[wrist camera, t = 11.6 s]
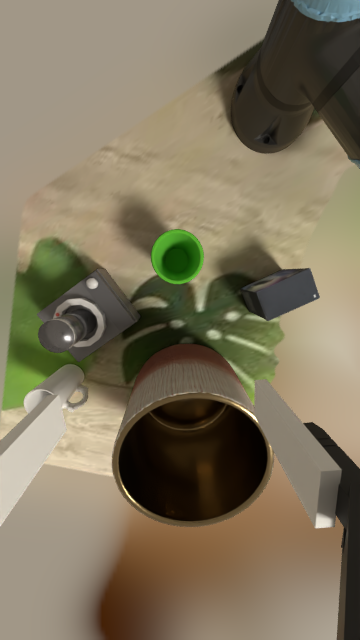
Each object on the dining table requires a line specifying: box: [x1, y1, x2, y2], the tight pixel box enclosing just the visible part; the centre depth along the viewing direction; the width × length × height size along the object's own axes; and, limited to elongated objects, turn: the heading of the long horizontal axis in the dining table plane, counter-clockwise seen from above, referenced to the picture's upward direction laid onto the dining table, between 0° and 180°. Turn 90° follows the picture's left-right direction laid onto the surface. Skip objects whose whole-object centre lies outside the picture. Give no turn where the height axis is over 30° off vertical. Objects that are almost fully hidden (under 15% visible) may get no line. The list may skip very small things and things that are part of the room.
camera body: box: [37, 269, 141, 362], centre depth 45 cm, size 16×13×7 cm
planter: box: [112, 344, 274, 527], centre depth 43 cm, size 25×25×22 cm
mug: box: [24, 364, 88, 414], centre depth 47 cm, size 10×7×12 cm, turn 67°
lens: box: [38, 309, 96, 353], centre depth 39 cm, size 6×6×10 cm
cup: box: [151, 229, 204, 284], centre depth 42 cm, size 9×9×11 cm
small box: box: [241, 268, 320, 321], centre depth 44 cm, size 11×6×10 cm, turn 115°
